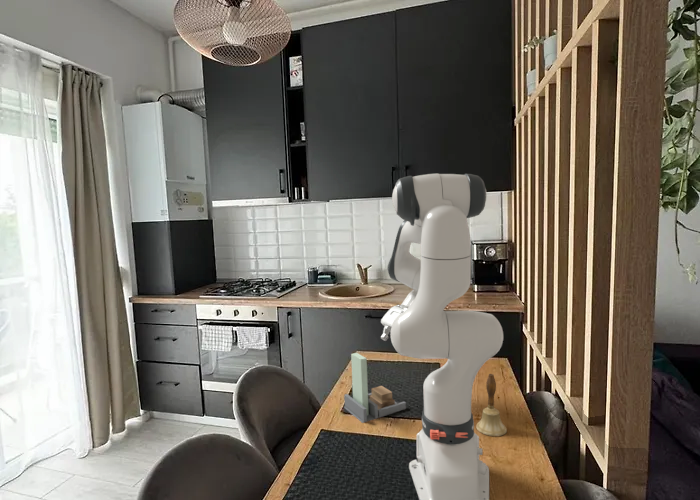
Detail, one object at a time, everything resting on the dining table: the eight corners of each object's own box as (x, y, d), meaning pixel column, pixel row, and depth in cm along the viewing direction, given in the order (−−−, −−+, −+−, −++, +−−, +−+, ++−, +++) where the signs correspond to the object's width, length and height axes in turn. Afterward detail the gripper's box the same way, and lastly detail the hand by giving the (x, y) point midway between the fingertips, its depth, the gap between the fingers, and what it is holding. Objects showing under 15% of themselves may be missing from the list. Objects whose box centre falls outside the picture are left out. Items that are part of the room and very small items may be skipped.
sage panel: (358, 407, 129) (356, 352, 128) (368, 415, 124) (366, 358, 123) (353, 409, 128) (351, 354, 127) (363, 416, 123) (360, 359, 122)
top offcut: (381, 392, 133) (381, 385, 133) (392, 399, 128) (392, 392, 128) (371, 395, 131) (371, 388, 131) (381, 403, 126) (381, 395, 126)
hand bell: (479, 419, 121) (479, 367, 120) (509, 425, 117) (508, 372, 115) (472, 432, 114) (472, 377, 113) (503, 439, 110) (503, 382, 108)
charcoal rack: (384, 397, 138) (384, 383, 137) (406, 411, 127) (405, 396, 127) (343, 409, 130) (342, 395, 130) (362, 426, 120) (361, 409, 119)
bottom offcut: (382, 399, 134) (382, 392, 134) (394, 407, 128) (394, 399, 128) (369, 403, 132) (369, 395, 132) (381, 411, 126) (381, 404, 126)
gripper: (390, 298, 142) (368, 330, 138) (428, 308, 124) (404, 345, 120) (401, 308, 145) (379, 340, 141) (440, 320, 127) (416, 357, 123)
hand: (391, 343), depth 130 cm, fingers open, 8 cm apart
